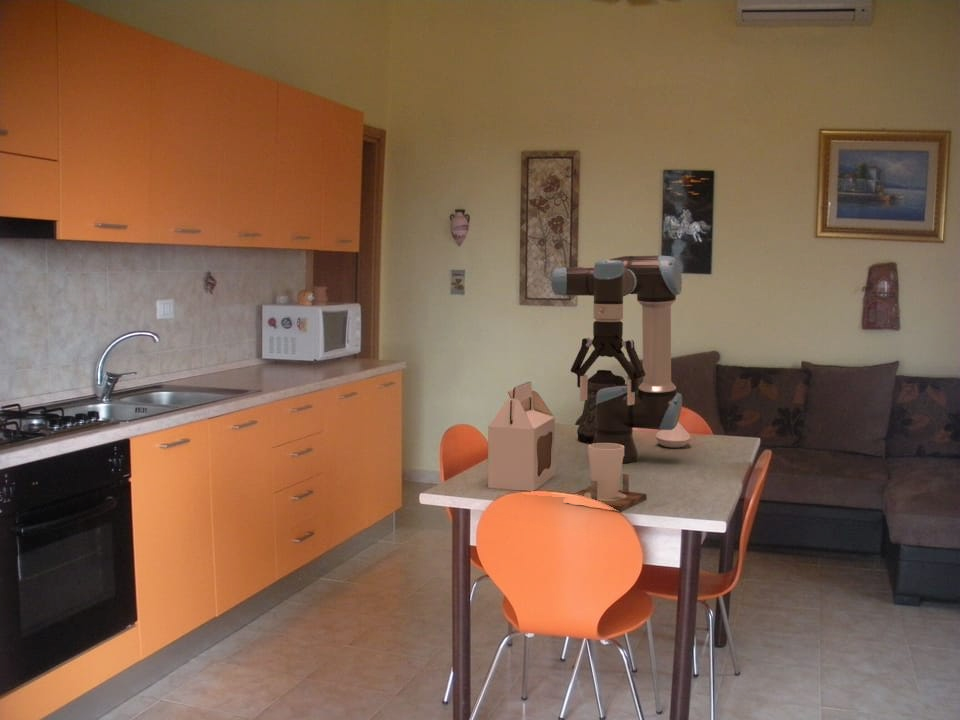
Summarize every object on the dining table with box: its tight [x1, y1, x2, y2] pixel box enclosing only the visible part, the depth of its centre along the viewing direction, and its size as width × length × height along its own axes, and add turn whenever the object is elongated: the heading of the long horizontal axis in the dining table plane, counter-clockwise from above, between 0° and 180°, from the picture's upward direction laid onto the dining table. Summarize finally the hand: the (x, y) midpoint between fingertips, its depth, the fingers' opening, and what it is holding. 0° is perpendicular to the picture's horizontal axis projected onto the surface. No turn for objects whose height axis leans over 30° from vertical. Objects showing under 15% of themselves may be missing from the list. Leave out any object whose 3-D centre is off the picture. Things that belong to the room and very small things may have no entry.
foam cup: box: [587, 443, 624, 498], centre depth 246 cm, size 10×9×13 cm
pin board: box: [572, 473, 647, 513], centre depth 246 cm, size 16×16×6 cm
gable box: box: [487, 381, 556, 491], centre depth 268 cm, size 22×13×28 cm, turn 160°
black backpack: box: [576, 369, 628, 445], centre depth 332 cm, size 16×19×25 cm
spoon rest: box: [655, 421, 691, 449], centre depth 328 cm, size 24×12×7 cm, turn 169°
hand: (606, 402), depth 244 cm, fingers open, 13 cm apart
